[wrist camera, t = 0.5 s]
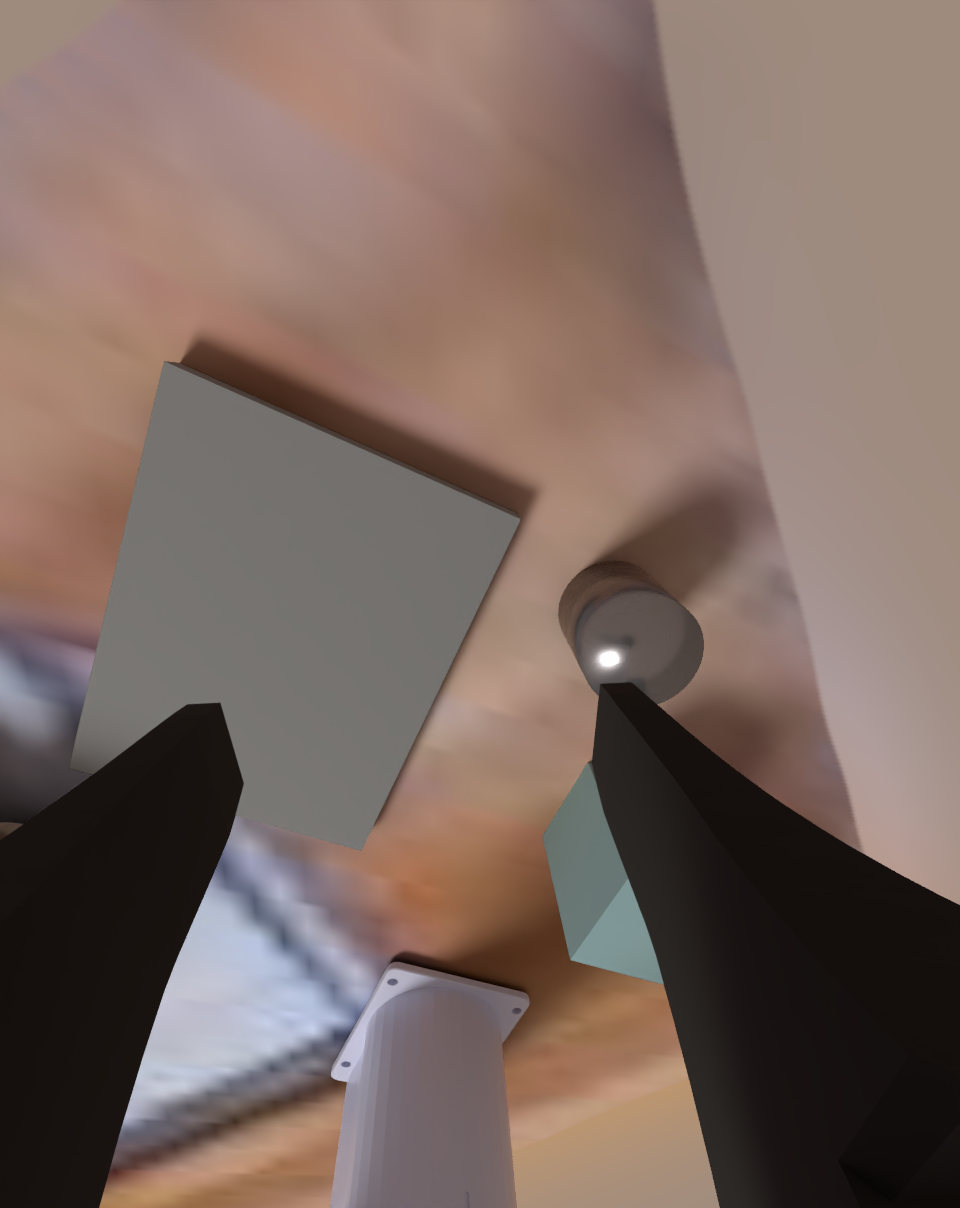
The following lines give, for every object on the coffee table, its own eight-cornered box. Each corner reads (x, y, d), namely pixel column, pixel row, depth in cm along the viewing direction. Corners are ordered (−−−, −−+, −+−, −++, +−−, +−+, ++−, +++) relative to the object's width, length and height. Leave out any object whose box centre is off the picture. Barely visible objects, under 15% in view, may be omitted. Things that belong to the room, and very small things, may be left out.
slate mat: (364, 833, 25) (361, 851, 24) (84, 752, 22) (68, 768, 21) (517, 513, 20) (520, 519, 19) (178, 362, 17) (163, 361, 16)
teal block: (624, 860, 26) (673, 987, 21) (542, 835, 25) (570, 959, 20) (672, 791, 25) (738, 906, 19) (587, 761, 24) (631, 873, 19)
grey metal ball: (626, 668, 22) (663, 723, 19) (541, 634, 22) (561, 684, 18) (677, 584, 21) (727, 625, 18) (588, 544, 20) (621, 579, 17)
